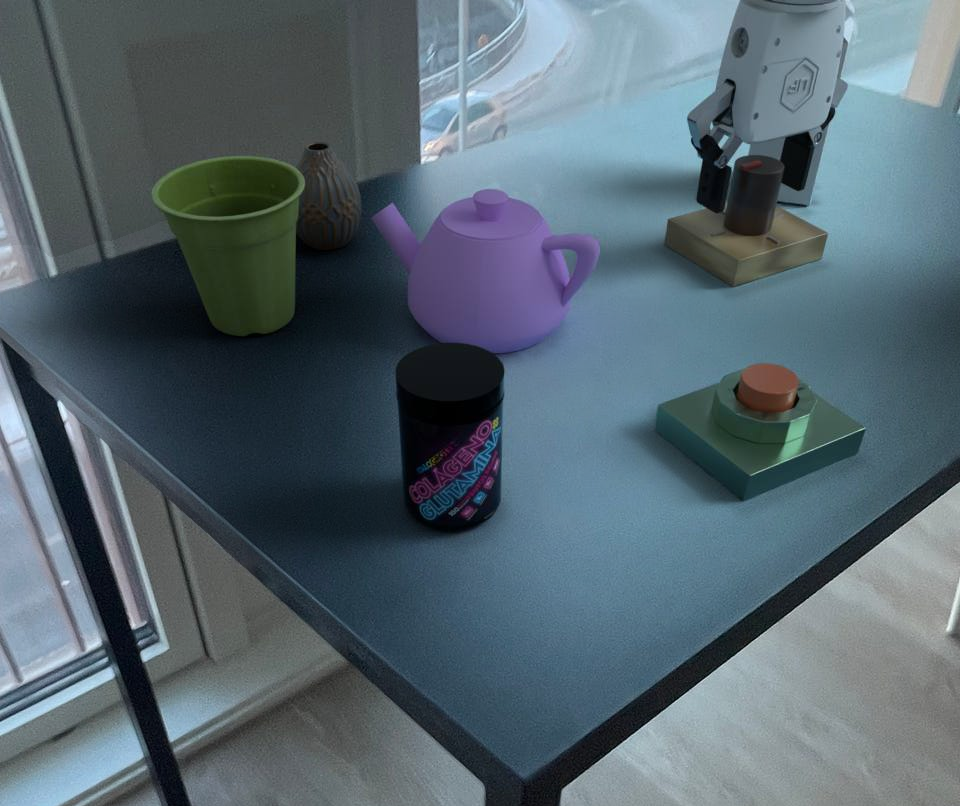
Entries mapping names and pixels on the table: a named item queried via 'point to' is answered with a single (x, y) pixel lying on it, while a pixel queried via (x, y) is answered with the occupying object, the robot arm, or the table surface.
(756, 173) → the dial
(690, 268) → the table surface
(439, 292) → the teapot
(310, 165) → the vase
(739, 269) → the dial panel
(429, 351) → the supplement container
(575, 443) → the table surface
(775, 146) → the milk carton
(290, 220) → the plant pot
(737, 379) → the button housing
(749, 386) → the push button
